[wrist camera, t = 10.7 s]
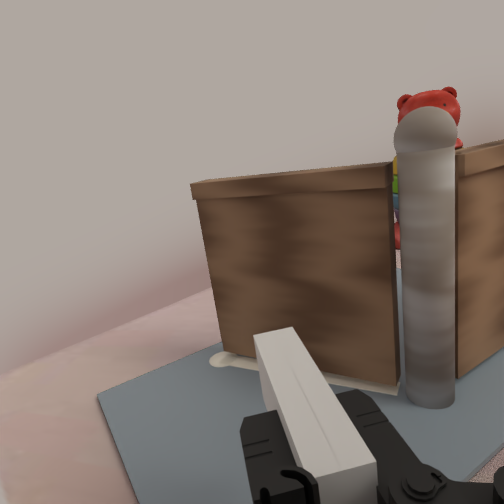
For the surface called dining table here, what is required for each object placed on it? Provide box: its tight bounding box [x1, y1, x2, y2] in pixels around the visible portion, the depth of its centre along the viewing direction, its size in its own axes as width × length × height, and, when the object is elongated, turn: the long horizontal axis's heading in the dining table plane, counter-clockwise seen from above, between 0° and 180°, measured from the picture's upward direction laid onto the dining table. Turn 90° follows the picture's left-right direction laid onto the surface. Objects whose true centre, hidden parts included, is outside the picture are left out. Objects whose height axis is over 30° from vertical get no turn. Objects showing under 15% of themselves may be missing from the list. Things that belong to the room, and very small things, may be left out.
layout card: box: [97, 268, 504, 504], centre depth 25 cm, size 30×18×1 cm, turn 122°
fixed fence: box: [394, 106, 504, 409], centre depth 22 cm, size 17×3×15 cm, turn 122°
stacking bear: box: [392, 87, 463, 249], centre depth 47 cm, size 11×10×18 cm
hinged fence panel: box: [190, 161, 401, 387], centre depth 23 cm, size 12×2×12 cm, turn 58°
